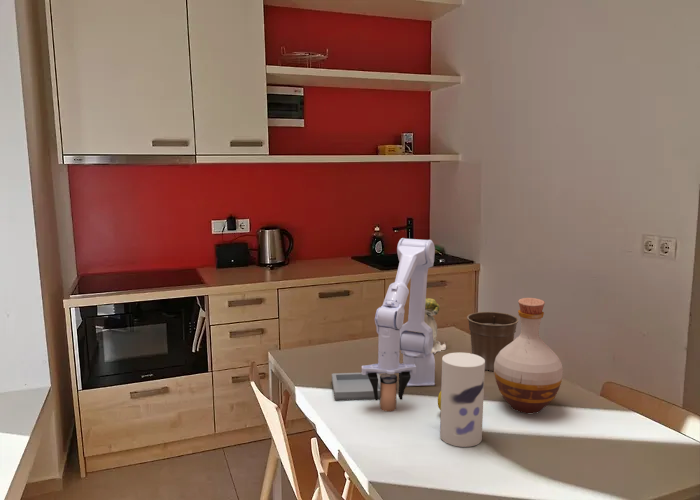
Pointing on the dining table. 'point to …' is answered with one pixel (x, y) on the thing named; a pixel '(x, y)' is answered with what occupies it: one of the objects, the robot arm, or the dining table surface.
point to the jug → (528, 364)
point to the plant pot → (491, 334)
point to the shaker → (388, 392)
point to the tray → (353, 387)
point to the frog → (433, 322)
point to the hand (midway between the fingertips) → (388, 398)
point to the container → (462, 399)
